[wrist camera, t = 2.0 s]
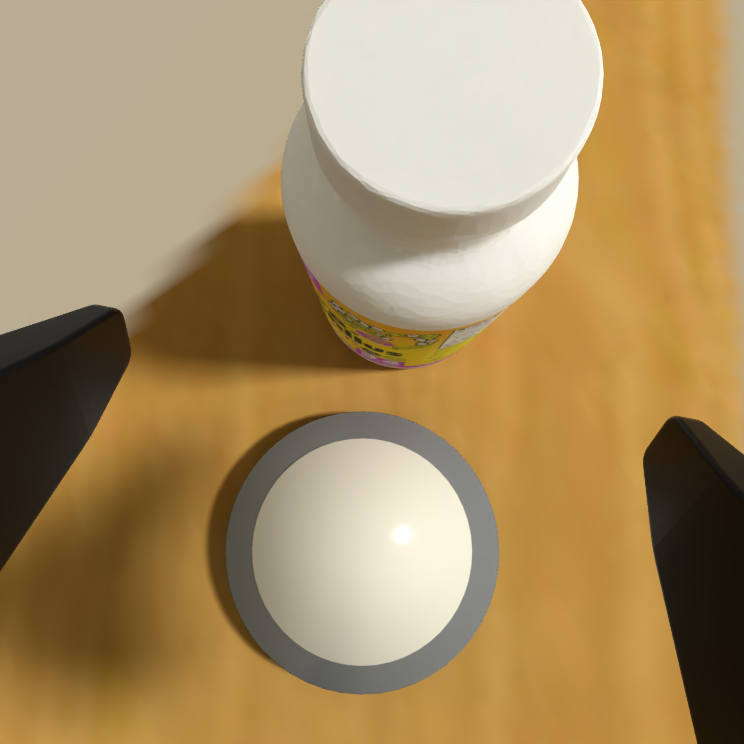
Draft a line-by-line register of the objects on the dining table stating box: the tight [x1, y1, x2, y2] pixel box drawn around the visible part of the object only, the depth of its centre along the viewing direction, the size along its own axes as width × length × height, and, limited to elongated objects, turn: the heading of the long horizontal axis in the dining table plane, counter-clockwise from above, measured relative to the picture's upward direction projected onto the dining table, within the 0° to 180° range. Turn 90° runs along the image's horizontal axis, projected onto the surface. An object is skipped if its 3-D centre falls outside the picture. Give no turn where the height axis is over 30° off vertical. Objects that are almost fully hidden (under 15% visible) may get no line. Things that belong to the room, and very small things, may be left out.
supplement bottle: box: [281, 0, 603, 369], centre depth 14 cm, size 7×7×13 cm
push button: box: [226, 412, 499, 694], centre depth 19 cm, size 10×10×1 cm
